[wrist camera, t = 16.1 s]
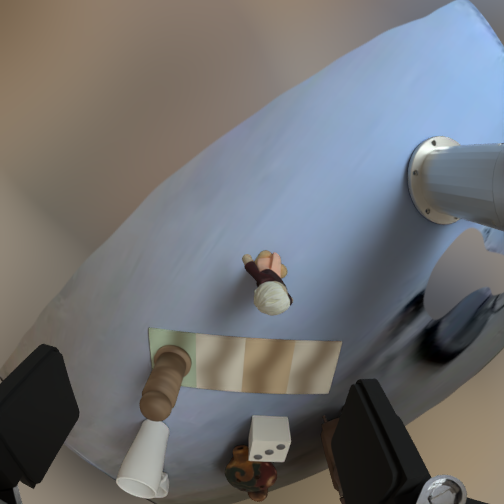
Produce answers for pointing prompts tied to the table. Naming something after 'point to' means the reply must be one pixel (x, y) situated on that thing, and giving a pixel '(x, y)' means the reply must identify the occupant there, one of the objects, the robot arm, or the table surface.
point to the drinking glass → (144, 461)
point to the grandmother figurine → (268, 282)
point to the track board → (253, 362)
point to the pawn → (164, 382)
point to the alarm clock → (326, 440)
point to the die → (269, 438)
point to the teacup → (163, 486)
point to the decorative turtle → (250, 474)
